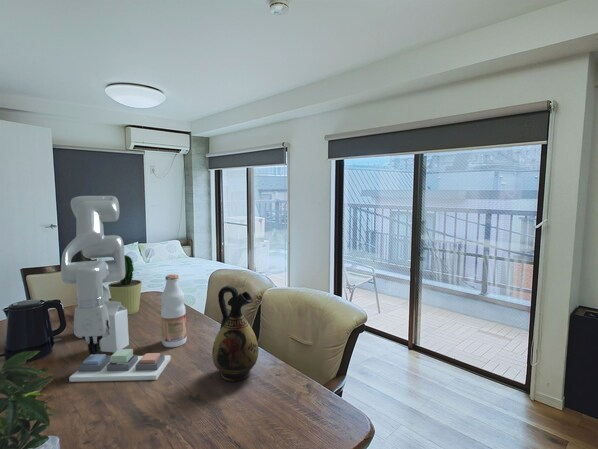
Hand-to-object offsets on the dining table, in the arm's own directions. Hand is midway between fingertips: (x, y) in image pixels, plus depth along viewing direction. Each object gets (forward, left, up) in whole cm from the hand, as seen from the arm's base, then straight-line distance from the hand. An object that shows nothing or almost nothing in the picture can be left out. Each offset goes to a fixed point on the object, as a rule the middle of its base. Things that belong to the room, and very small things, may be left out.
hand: (94, 352), depth 120 cm
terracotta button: (+1, +19, -4) cm, 20 cm away
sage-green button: (+1, +10, -2) cm, 10 cm away
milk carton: (-16, -1, -6) cm, 18 cm away
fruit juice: (-20, +21, -6) cm, 30 cm away
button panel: (+1, +10, -6) cm, 12 cm away
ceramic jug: (+5, +49, -6) cm, 49 cm away
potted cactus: (-59, -16, -6) cm, 62 cm away
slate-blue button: (+1, 0, -4) cm, 4 cm away
